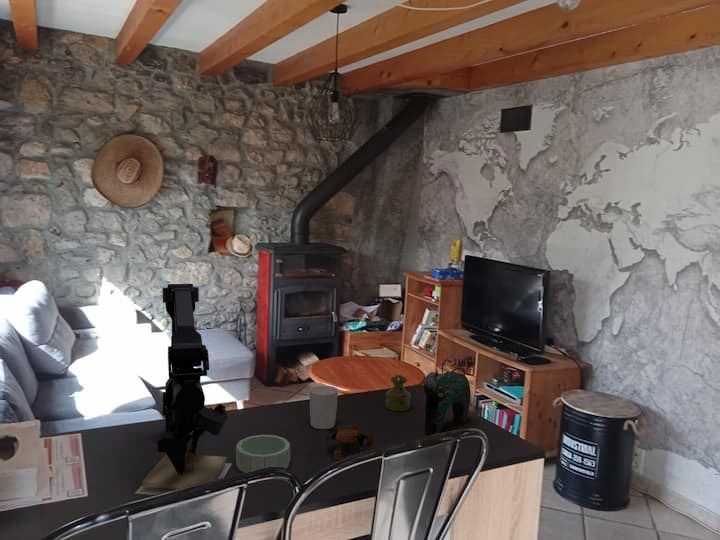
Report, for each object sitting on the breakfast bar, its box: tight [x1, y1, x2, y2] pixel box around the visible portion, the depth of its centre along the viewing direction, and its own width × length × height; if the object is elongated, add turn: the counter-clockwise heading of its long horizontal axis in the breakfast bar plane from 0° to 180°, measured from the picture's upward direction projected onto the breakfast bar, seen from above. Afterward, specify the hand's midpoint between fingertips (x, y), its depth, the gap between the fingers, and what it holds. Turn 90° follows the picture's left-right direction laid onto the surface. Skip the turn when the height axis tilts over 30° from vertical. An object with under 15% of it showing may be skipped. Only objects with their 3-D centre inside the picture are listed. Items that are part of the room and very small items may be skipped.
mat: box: [134, 462, 233, 496], centre depth 129 cm, size 16×16×1 cm
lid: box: [141, 452, 228, 489], centre depth 129 cm, size 14×14×5 cm
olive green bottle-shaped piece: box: [385, 374, 412, 412], centre depth 180 cm, size 7×7×10 cm
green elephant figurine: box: [423, 358, 471, 436], centre depth 164 cm, size 20×6×20 cm, turn 139°
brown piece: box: [325, 424, 374, 462], centre depth 146 cm, size 12×10×8 cm
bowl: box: [235, 434, 291, 474], centre depth 137 cm, size 12×12×5 cm
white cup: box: [309, 384, 339, 430], centre depth 164 cm, size 8×8×10 cm
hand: (186, 467), depth 129 cm, fingers open, 7 cm apart
